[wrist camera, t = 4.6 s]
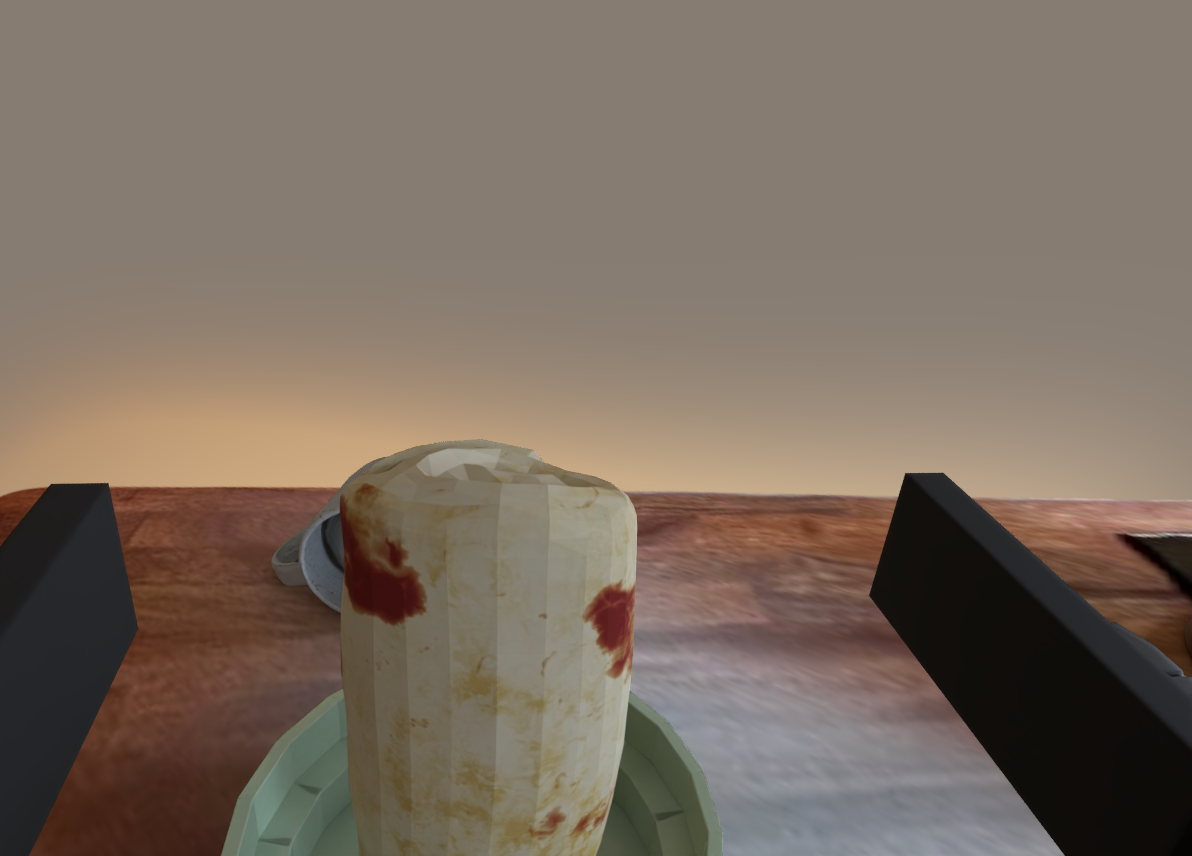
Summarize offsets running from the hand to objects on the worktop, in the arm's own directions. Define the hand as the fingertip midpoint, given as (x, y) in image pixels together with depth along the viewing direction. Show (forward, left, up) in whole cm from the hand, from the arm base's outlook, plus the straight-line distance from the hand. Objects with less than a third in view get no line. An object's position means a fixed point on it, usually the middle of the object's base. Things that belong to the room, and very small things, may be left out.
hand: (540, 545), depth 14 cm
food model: (-9, -3, -24) cm, 26 cm away
